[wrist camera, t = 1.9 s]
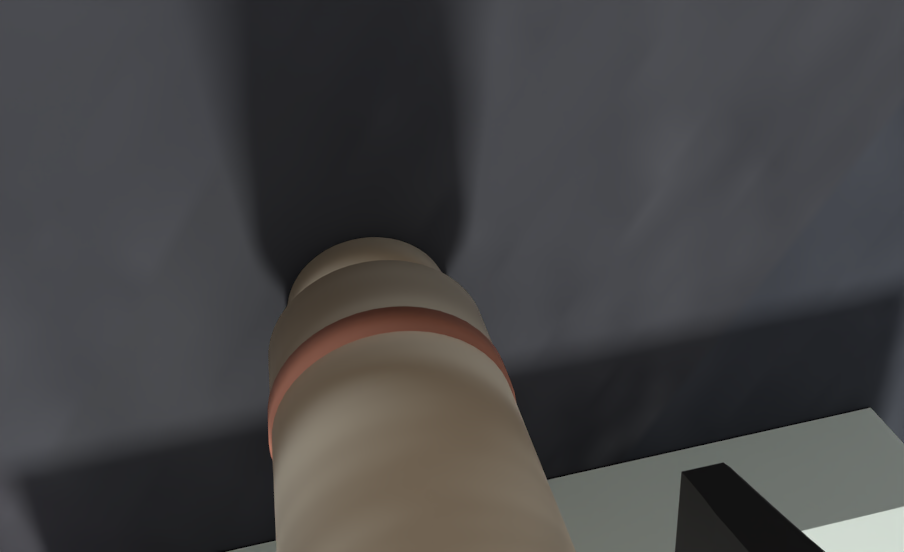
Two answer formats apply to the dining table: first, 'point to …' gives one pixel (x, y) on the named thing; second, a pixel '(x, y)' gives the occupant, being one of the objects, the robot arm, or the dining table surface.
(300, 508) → the peg
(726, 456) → the board
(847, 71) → the dining table surface
